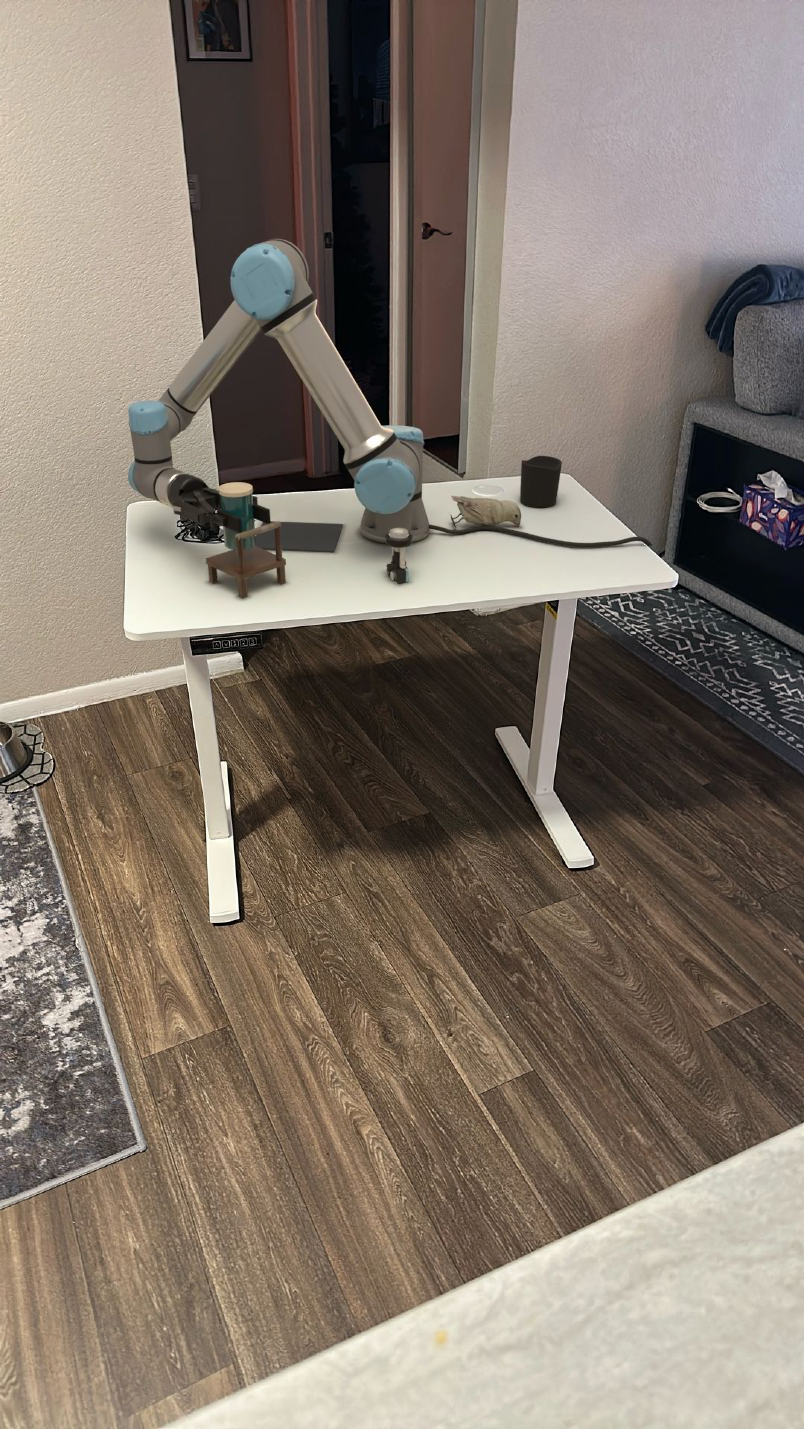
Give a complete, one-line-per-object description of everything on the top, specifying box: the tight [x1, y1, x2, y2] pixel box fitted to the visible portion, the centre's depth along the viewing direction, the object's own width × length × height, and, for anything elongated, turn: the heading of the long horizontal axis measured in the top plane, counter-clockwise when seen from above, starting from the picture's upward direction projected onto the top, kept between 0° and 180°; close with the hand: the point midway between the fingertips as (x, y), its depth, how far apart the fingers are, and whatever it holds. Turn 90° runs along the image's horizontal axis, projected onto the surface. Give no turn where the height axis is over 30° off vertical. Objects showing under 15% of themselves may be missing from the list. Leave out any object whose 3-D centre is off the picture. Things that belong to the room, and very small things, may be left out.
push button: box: [385, 528, 413, 585], centre depth 187 cm, size 7×5×10 cm
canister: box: [217, 481, 256, 550], centre depth 181 cm, size 6×6×11 cm
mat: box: [255, 521, 344, 553], centre depth 208 cm, size 18×16×1 cm
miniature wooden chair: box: [205, 520, 287, 599], centre depth 184 cm, size 11×11×13 cm
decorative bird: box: [449, 495, 522, 530], centre depth 212 cm, size 5×16×7 cm, turn 94°
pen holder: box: [519, 455, 563, 509], centre depth 227 cm, size 9×9×10 cm
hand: (254, 521), depth 178 cm, fingers closed on canister, 6 cm apart
